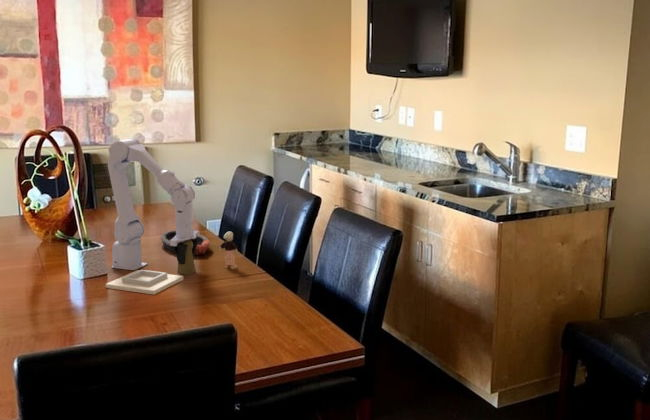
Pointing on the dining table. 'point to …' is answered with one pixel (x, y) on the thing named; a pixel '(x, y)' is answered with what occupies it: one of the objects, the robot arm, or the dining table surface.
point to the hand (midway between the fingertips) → (186, 261)
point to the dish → (203, 240)
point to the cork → (187, 260)
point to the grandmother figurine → (229, 250)
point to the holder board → (145, 281)
